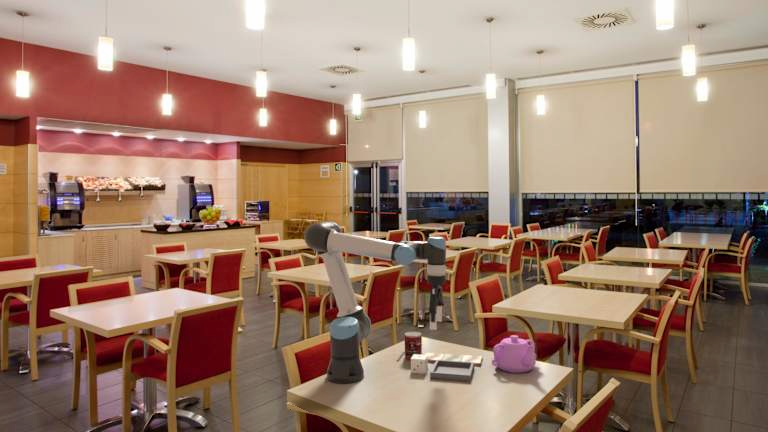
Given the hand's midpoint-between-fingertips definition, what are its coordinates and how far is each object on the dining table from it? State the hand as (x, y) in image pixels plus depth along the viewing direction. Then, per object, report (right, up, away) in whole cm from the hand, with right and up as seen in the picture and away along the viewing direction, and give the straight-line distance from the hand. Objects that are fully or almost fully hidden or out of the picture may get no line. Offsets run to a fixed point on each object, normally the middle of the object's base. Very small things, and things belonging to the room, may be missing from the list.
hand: (436, 325), depth 214 cm
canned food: (-8, -19, +20) cm, 29 cm away
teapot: (+35, -19, +2) cm, 40 cm away
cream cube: (-7, -20, +3) cm, 21 cm away
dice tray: (+7, -20, -1) cm, 21 cm away
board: (+3, -19, +17) cm, 26 cm away
